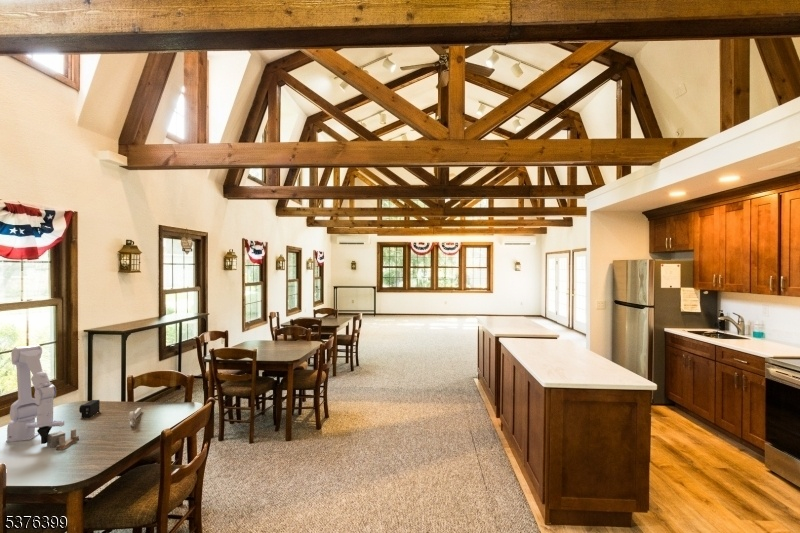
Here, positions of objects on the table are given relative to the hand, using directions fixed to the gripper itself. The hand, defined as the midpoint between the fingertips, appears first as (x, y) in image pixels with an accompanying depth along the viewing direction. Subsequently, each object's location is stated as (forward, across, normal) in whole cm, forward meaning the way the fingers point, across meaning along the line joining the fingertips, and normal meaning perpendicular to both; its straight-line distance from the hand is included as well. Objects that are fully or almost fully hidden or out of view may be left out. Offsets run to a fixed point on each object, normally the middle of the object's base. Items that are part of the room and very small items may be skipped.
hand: (44, 443), depth 191 cm
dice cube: (+2, +4, +1) cm, 5 cm away
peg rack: (+1, +9, 0) cm, 9 cm away
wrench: (+2, +27, +28) cm, 39 cm away
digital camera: (+2, -2, +43) cm, 43 cm away
